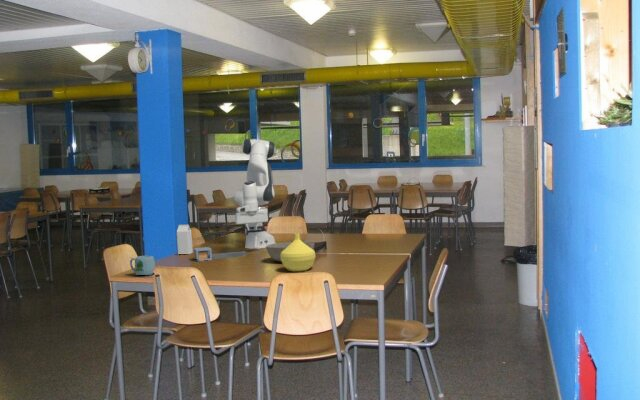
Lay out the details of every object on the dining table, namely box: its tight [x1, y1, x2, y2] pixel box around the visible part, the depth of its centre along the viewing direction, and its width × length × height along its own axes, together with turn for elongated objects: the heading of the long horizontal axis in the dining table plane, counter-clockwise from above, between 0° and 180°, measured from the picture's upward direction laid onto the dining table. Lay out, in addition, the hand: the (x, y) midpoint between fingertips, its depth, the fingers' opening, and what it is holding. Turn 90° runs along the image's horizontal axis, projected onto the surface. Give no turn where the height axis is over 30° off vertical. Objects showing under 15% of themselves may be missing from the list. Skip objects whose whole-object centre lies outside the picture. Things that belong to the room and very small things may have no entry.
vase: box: [280, 232, 316, 273], centre depth 350 cm, size 18×18×19 cm
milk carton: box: [176, 224, 194, 256], centre depth 431 cm, size 7×7×19 cm
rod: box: [208, 250, 247, 260], centre depth 407 cm, size 23×3×3 cm, turn 105°
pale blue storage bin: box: [193, 246, 213, 262], centre depth 403 cm, size 9×9×7 cm
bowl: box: [265, 241, 315, 263], centre depth 383 cm, size 28×28×10 cm
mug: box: [129, 254, 156, 276], centre depth 361 cm, size 15×11×10 cm
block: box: [198, 251, 207, 259], centre depth 403 cm, size 5×5×5 cm
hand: (252, 230), depth 412 cm, fingers open, 3 cm apart
